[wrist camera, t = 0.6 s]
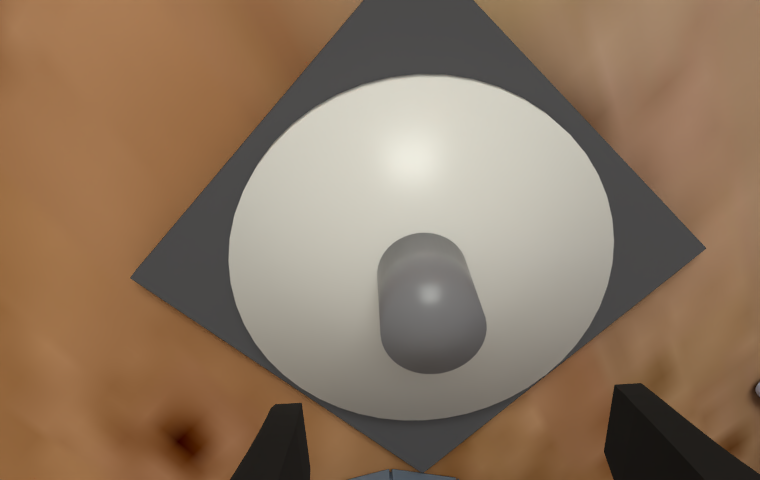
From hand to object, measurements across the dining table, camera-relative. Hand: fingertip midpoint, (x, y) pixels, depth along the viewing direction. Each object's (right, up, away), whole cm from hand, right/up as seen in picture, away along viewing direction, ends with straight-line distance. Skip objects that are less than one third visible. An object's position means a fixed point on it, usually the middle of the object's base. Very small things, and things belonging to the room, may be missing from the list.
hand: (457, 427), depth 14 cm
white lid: (0, +4, +8) cm, 9 cm away
